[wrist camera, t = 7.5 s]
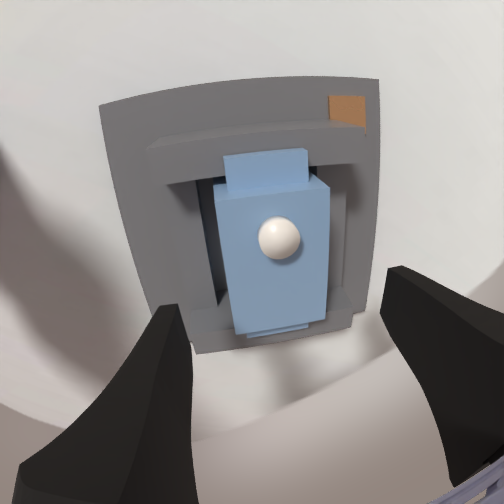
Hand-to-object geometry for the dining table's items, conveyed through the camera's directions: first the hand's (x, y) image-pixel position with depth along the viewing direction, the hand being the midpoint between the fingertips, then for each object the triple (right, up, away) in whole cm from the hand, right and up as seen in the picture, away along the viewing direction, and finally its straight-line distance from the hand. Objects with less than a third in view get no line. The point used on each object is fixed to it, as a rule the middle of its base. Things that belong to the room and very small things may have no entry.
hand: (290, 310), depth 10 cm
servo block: (-1, +4, +6) cm, 7 cm away
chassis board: (-1, +4, +7) cm, 8 cm away
